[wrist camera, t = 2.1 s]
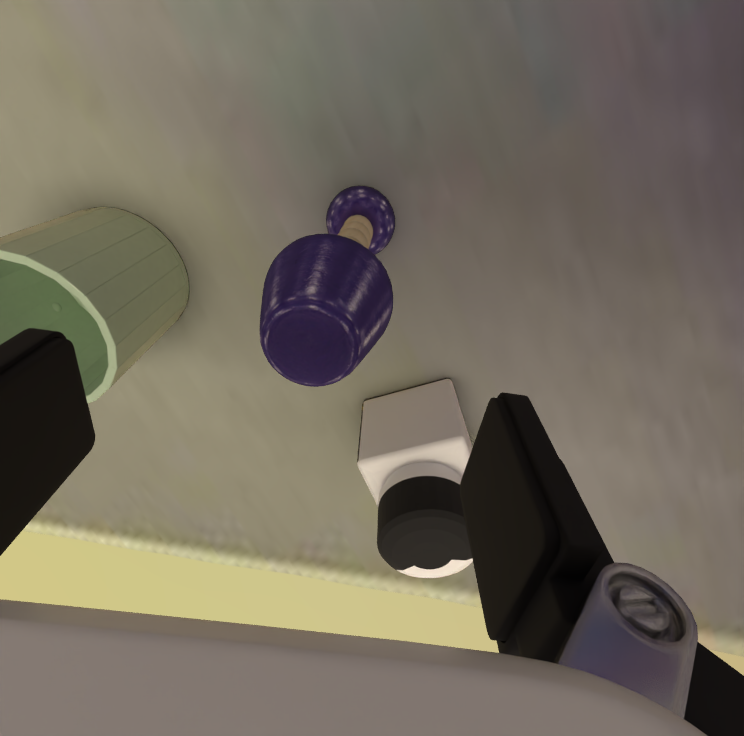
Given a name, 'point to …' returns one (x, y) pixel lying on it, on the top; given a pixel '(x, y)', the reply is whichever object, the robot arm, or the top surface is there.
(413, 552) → the medicine bottle
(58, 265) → the mug
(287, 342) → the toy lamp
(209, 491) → the top surface
